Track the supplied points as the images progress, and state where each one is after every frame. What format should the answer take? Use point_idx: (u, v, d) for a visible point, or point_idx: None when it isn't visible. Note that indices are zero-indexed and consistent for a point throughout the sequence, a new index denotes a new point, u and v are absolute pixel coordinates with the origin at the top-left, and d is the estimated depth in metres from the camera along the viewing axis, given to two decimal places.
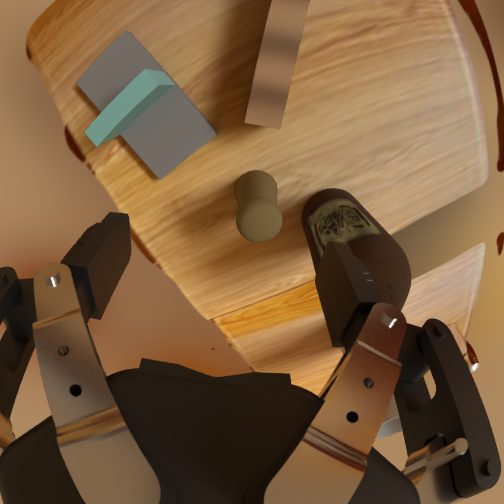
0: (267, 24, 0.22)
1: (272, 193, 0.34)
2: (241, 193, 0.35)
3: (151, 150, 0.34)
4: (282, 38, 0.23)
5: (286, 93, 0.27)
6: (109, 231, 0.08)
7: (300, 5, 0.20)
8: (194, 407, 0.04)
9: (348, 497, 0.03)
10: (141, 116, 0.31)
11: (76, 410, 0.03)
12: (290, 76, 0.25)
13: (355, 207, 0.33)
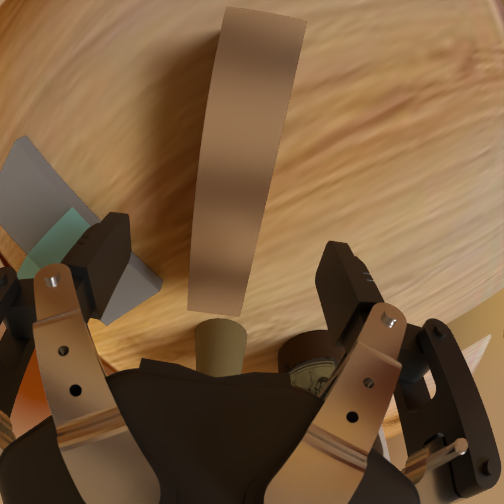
0: (203, 148, 0.14)
1: (235, 364, 0.26)
2: (198, 360, 0.27)
3: None
4: (235, 177, 0.15)
5: (246, 273, 0.19)
6: (109, 231, 0.08)
7: (273, 93, 0.12)
8: (194, 407, 0.04)
9: (348, 497, 0.03)
10: None
11: (76, 409, 0.03)
12: (252, 247, 0.17)
13: None
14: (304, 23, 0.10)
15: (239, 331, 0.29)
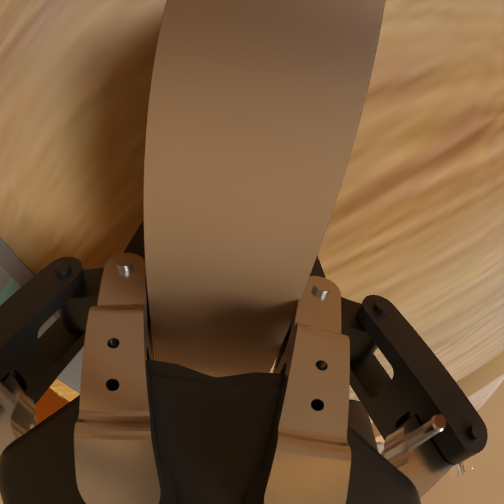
0: (150, 252, 0.06)
1: None
2: None
3: None
4: (225, 305, 0.07)
5: None
6: None
7: (317, 119, 0.05)
8: (194, 407, 0.04)
9: (346, 484, 0.03)
10: None
11: (106, 404, 0.03)
12: None
13: None
14: None
15: None
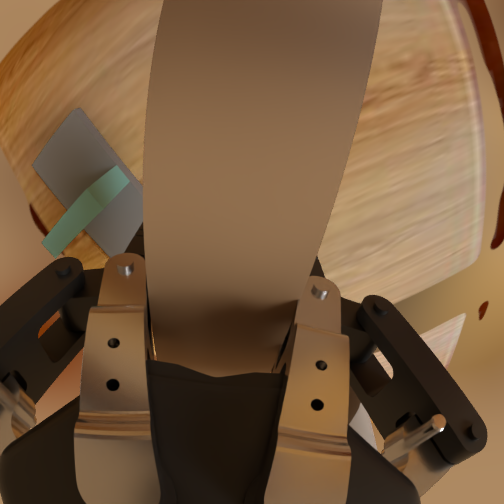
0: (150, 253, 0.06)
1: None
2: None
3: (113, 245, 0.33)
4: (225, 305, 0.07)
5: None
6: None
7: (315, 119, 0.05)
8: (194, 407, 0.04)
9: (345, 484, 0.03)
10: (99, 211, 0.30)
11: (106, 403, 0.03)
12: None
13: None
14: None
15: None
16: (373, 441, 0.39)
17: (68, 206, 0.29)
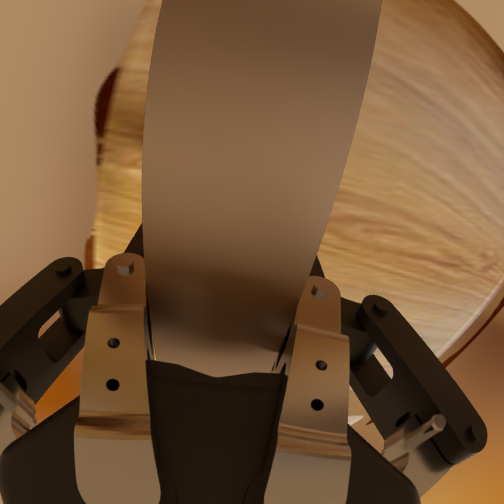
0: (149, 255, 0.06)
1: None
2: None
3: None
4: (224, 307, 0.07)
5: None
6: None
7: (314, 121, 0.05)
8: (194, 407, 0.04)
9: (346, 484, 0.03)
10: None
11: (106, 404, 0.03)
12: None
13: None
14: None
15: None
16: None
17: None
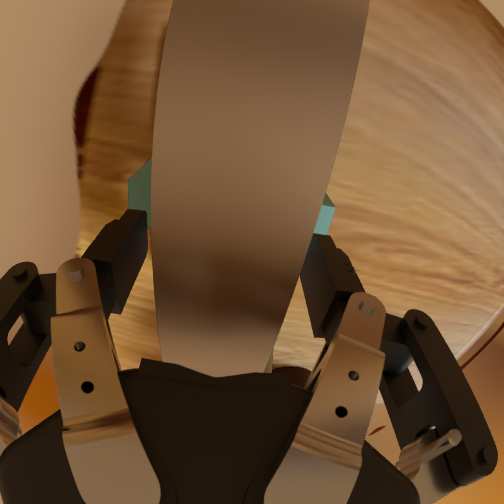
0: (156, 240, 0.07)
1: None
2: None
3: None
4: (225, 290, 0.08)
5: None
6: (130, 227, 0.09)
7: (307, 116, 0.05)
8: (194, 407, 0.04)
9: (348, 492, 0.03)
10: None
11: (86, 407, 0.03)
12: None
13: None
14: None
15: None
16: None
17: None
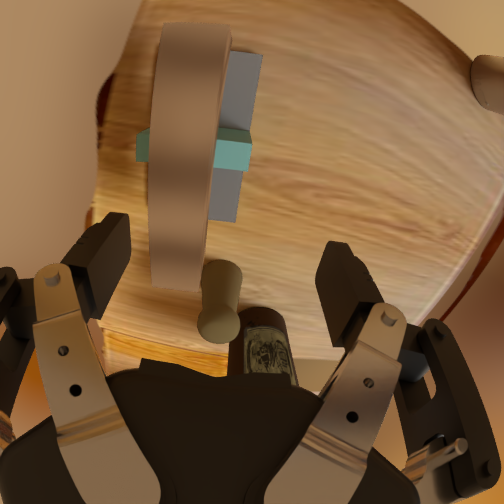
0: (151, 140, 0.16)
1: None
2: (215, 284, 0.35)
3: None
4: (179, 162, 0.17)
5: (198, 248, 0.20)
6: (109, 231, 0.08)
7: (204, 88, 0.14)
8: (194, 407, 0.04)
9: (348, 497, 0.03)
10: None
11: (76, 410, 0.03)
12: (200, 224, 0.19)
13: (286, 347, 0.39)
14: (227, 27, 0.12)
15: (241, 281, 0.40)
16: None
17: None
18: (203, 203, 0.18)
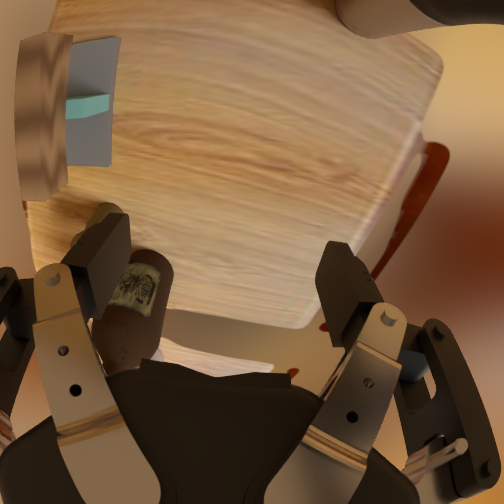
0: (15, 104, 0.18)
1: None
2: (93, 218, 0.38)
3: None
4: (25, 114, 0.19)
5: (38, 167, 0.23)
6: (109, 231, 0.08)
7: (34, 70, 0.17)
8: (194, 407, 0.04)
9: (348, 497, 0.03)
10: None
11: (76, 410, 0.03)
12: (37, 150, 0.22)
13: (156, 283, 0.42)
14: (43, 33, 0.14)
15: None
16: None
17: None
18: (36, 136, 0.21)
